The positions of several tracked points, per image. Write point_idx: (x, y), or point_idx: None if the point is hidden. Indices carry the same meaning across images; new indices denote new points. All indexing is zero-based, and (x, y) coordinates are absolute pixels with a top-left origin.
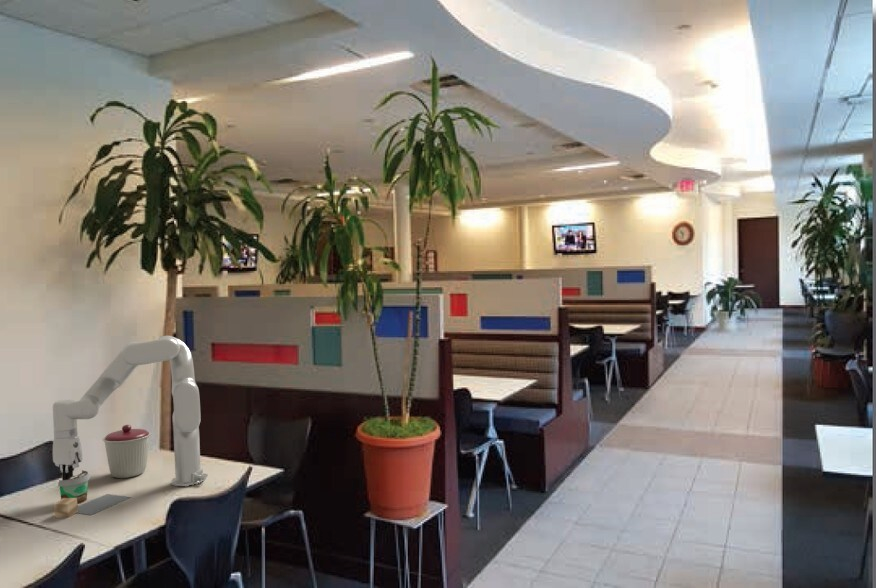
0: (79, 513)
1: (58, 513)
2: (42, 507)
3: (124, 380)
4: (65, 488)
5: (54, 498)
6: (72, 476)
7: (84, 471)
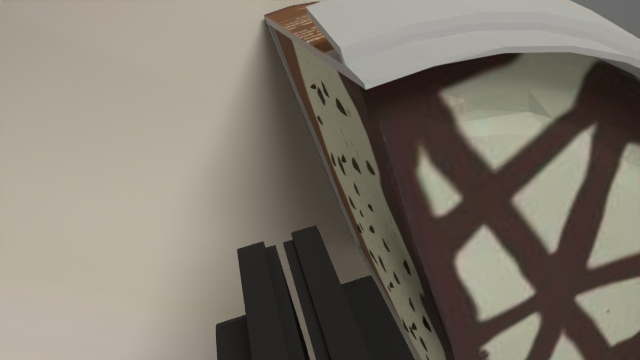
0: None
1: None
2: None
3: None
4: None
5: (5, 207)
6: (469, 344)
7: (455, 57)
